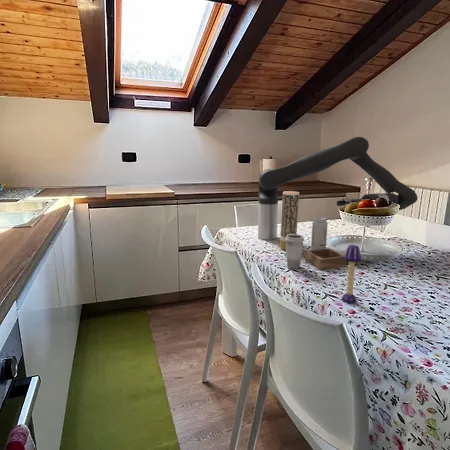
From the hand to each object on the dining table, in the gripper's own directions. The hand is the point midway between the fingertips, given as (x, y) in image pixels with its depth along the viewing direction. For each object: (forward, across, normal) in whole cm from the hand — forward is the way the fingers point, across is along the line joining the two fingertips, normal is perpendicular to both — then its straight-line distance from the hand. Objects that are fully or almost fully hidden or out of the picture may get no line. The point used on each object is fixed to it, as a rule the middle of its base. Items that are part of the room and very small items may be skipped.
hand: (343, 205), depth 144 cm
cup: (+29, +11, +20) cm, 37 cm away
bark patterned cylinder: (+20, -10, +20) cm, 30 cm away
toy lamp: (+28, +41, +20) cm, 54 cm away
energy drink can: (+11, 0, +20) cm, 23 cm away
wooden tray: (+16, +12, +20) cm, 28 cm away
